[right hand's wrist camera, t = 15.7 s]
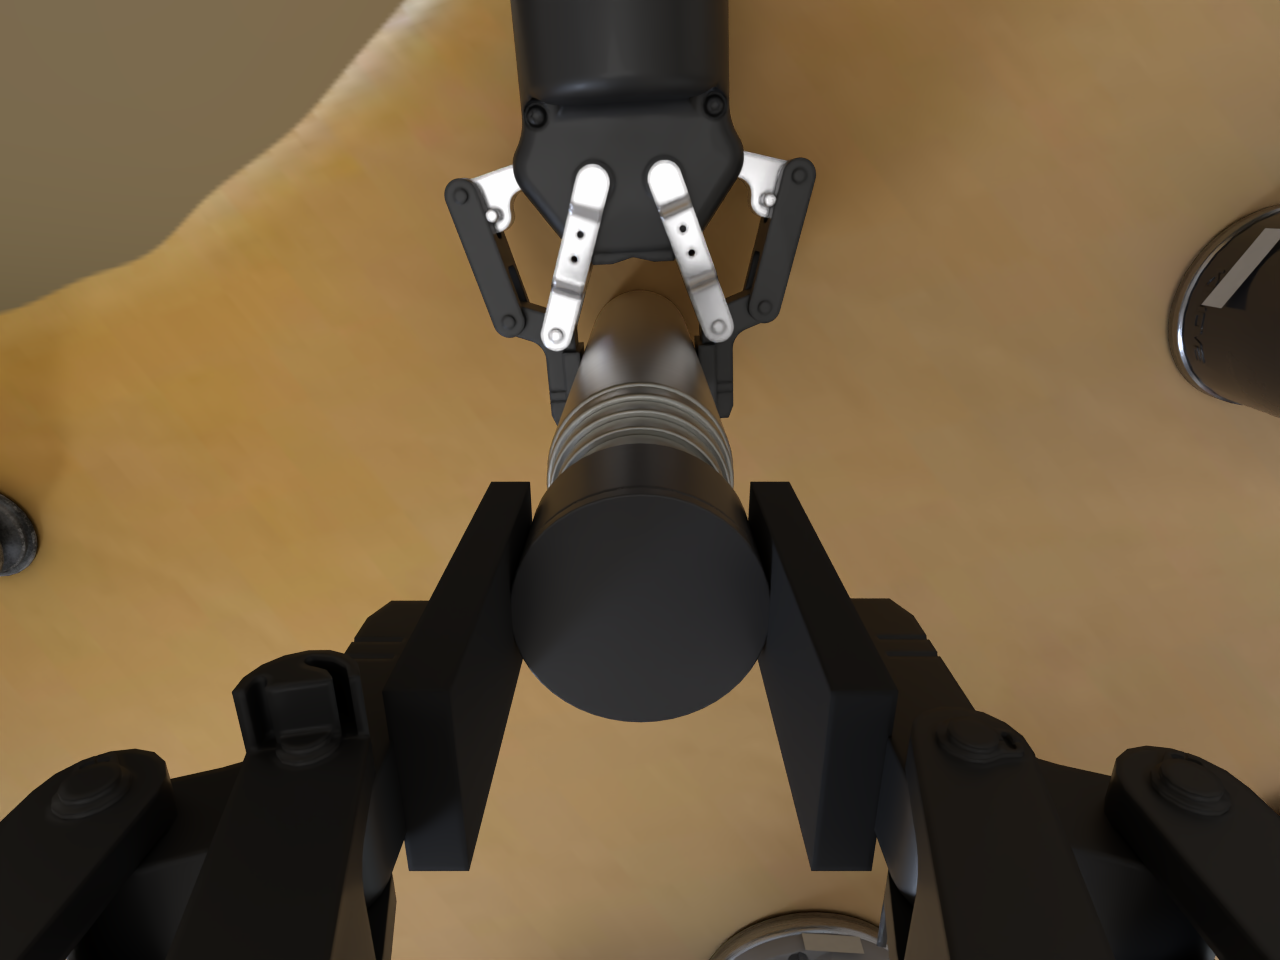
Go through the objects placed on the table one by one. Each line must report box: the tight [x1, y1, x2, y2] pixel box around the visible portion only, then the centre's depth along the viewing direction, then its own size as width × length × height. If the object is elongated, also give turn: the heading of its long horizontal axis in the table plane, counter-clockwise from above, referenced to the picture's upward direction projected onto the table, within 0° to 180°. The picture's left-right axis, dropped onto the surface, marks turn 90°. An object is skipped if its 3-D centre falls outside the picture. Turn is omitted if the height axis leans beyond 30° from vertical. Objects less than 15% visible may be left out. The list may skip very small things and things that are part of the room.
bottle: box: [547, 290, 734, 490], centre depth 24 cm, size 5×5×25 cm
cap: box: [510, 443, 770, 722], centre depth 14 cm, size 4×4×3 cm
